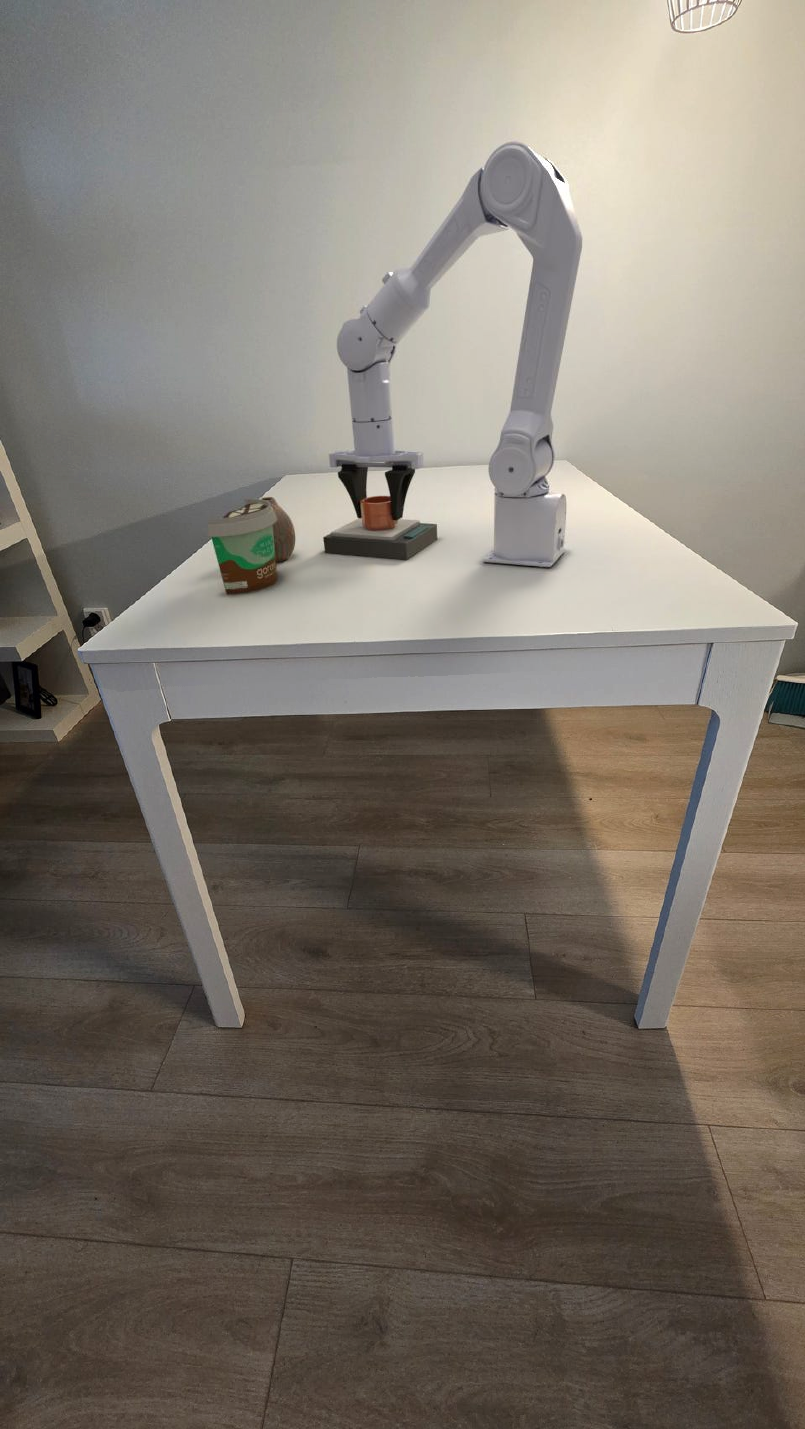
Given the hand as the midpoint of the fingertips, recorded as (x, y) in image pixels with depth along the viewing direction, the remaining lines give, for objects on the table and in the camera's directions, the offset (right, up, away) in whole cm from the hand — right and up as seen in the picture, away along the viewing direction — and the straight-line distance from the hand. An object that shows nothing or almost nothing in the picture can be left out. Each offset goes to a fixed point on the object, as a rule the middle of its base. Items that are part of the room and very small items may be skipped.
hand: (379, 517), depth 97 cm
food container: (-16, -12, -10) cm, 22 cm away
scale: (0, -4, +2) cm, 4 cm away
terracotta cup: (0, -1, +1) cm, 1 cm away
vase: (-16, -6, 0) cm, 17 cm away
